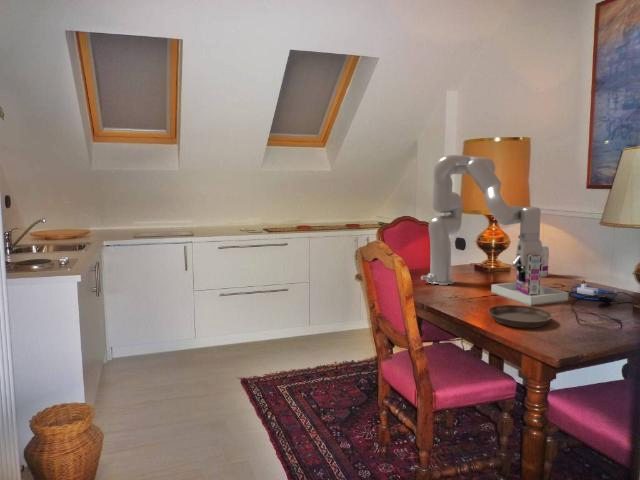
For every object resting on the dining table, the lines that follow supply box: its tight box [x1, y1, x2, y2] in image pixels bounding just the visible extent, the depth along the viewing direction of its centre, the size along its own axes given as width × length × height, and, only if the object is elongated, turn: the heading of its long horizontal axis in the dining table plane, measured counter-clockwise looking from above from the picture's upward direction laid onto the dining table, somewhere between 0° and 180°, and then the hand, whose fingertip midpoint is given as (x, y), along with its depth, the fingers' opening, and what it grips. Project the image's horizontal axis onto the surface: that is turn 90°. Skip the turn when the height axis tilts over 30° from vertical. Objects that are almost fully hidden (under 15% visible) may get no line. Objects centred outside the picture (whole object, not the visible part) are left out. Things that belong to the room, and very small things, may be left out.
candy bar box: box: [515, 254, 541, 295], centre depth 210 cm, size 11×5×16 cm, turn 5°
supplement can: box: [540, 244, 550, 278], centre depth 251 cm, size 8×8×15 cm
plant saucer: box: [488, 304, 553, 329], centre depth 178 cm, size 21×21×3 cm
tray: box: [490, 281, 569, 307], centre depth 211 cm, size 18×24×4 cm
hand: (528, 280), depth 210 cm, fingers closed on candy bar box, 5 cm apart
